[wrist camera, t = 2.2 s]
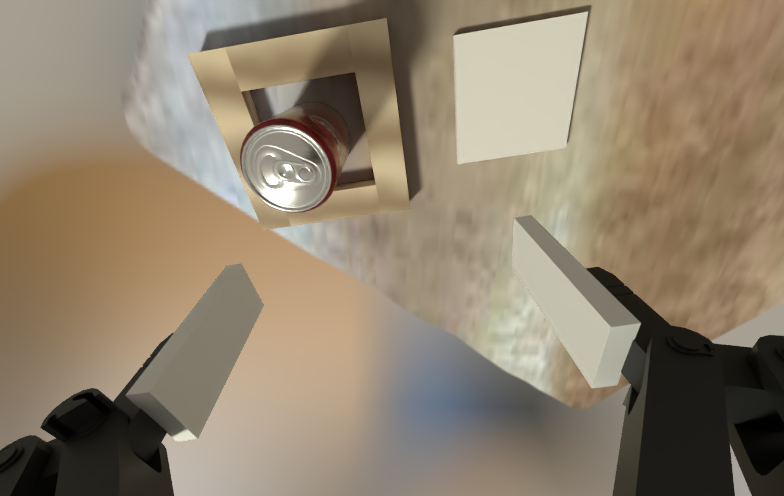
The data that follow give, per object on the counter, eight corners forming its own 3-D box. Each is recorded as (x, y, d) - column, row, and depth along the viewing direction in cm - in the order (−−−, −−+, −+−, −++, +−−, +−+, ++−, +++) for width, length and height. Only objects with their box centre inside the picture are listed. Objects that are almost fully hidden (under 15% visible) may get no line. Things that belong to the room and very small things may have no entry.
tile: (452, 35, 27) (454, 35, 27) (584, 12, 27) (588, 11, 26) (456, 162, 34) (457, 164, 33) (563, 146, 33) (565, 147, 33)
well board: (198, 54, 28) (187, 54, 26) (386, 20, 27) (386, 17, 25) (268, 222, 37) (263, 230, 36) (409, 202, 36) (410, 208, 35)
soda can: (283, 163, 33) (238, 206, 23) (284, 93, 30) (232, 108, 20) (346, 176, 34) (330, 223, 24) (355, 110, 31) (341, 132, 20)
